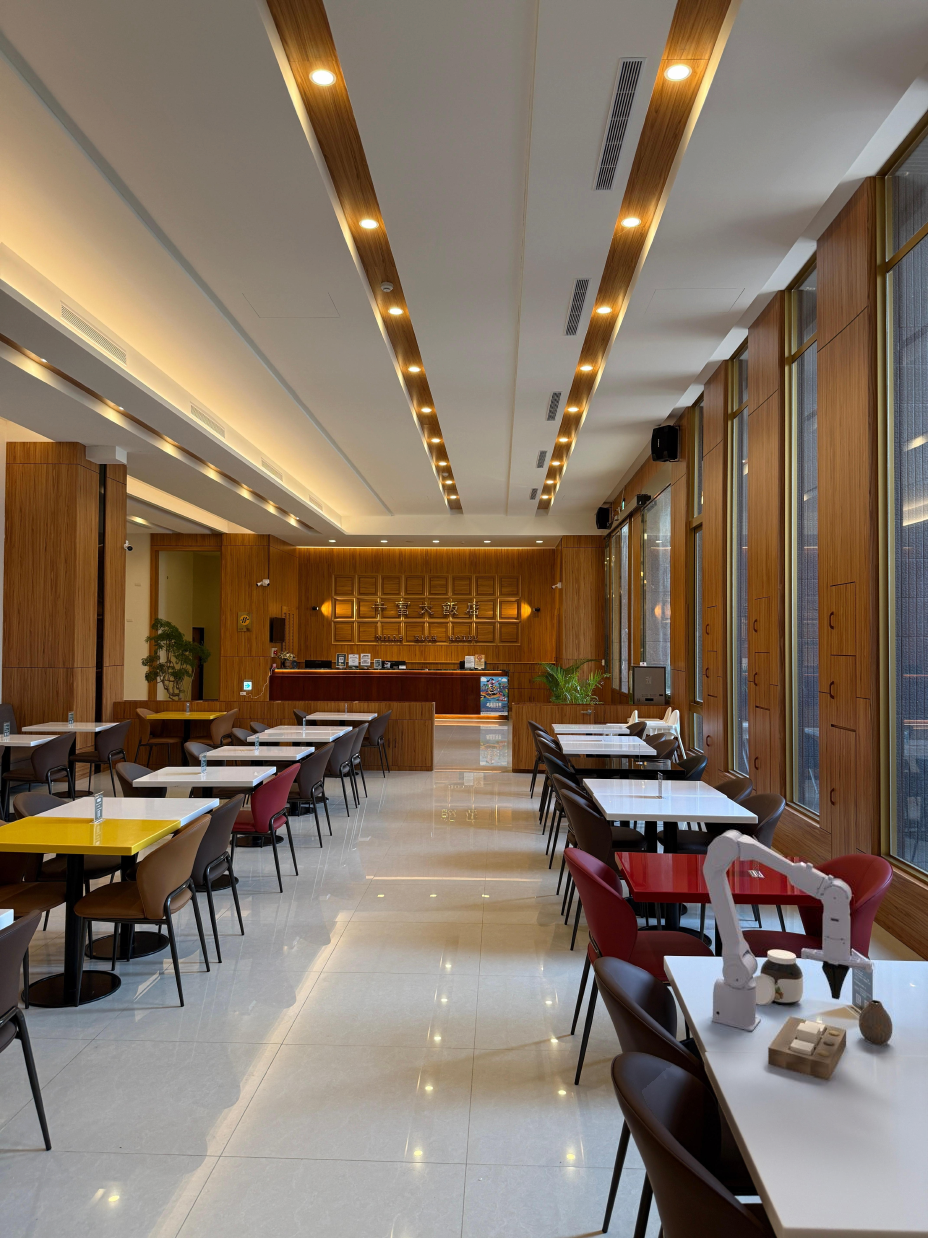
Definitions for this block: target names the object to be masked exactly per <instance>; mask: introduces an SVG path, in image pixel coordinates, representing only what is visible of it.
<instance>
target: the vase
mask: <svg viewBox="0 0 928 1238" xmlns="http://www.w3.org/2000/svg"><path fill="white" fill-rule="evenodd" d="M858 1027H859V1031H860V1034H861V1036H862V1037H863V1038H864V1039H865V1040H866V1041H867V1042H868V1043H871V1044H874V1045H877V1046H881V1045H885V1044H886V1043H888V1042H889V1041H890V1040H891V1037H892V1035H893V1022H892V1019H891V1016H890V1014H889V1013H888V1011H887V1010H886V1009H885V1008H884V1006H883V1004H882V1002H881V1001H880V1000H877V999H870V1000H869V1001H868V1004H867V1005H865V1007H864V1008H863V1009H862V1010H861V1011H860V1013H859V1016H858Z"/></svg>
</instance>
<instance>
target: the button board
mask: <svg viewBox="0 0 928 1238" xmlns="http://www.w3.org/2000/svg"><path fill="white" fill-rule="evenodd" d="M806 1021H809V1020H807V1019H803V1018H799V1017H795V1016H789V1017H788V1018H787V1020H786V1021H785V1023H784V1024H783V1026H782V1027H781V1029H780V1030H779V1032H778V1033H777V1035H776V1036H775V1037H774V1038H773V1040H772V1042H771V1043H770V1045H768V1047H767V1049H768V1051H767V1053H768V1054H767V1055H768V1056H767V1059H768V1060H767V1064H768V1065H770V1066H773V1067H776V1068H780V1069H784V1070H787V1071H789V1072H790V1071H791V1072H795V1073H798V1074H802V1075H804V1076H808V1077H812V1078H817V1079H818V1080H822V1081H823V1080H824V1081H827V1082H830V1080H831V1078H832V1076H833V1074H834V1072H835V1070H836V1068H837V1066H838V1063H839V1061H840V1060H841V1057H842V1055H843V1054H844V1052H845V1049H846V1047H847V1029H844V1028H840V1027H835V1026H832V1025H829V1024H824V1023H822V1024H823V1025H825V1034H824V1035H820V1042H819V1044H818V1045H814V1053H813V1055H812V1056H811V1055H807V1054H803V1053H799V1052H796V1051H792V1050H790V1046H791V1044H792V1042H793V1041H794V1039H796V1040H797V1028H798V1026H799V1025H800V1023H804V1024H805V1022H806ZM810 1021H811V1022H813V1021H812V1020H810ZM814 1022H815V1021H814ZM815 1023H817V1022H815ZM818 1023H819V1022H818ZM819 1024H821V1023H819Z"/></svg>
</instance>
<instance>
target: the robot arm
mask: <svg viewBox="0 0 928 1238" xmlns="http://www.w3.org/2000/svg"><path fill="white" fill-rule="evenodd" d="M737 858H739V861H752V860H754V861H756V862H759V863H761V864H762V865H765V866H767V867H769V868H771V869H773V870H775V871H777V872H779V873H780V874H782V875H785V876H786V877H787V878H788V880H789V883H790V884H791V886H794V887H795V888H797V889H799V890H801V891H803V893H806V894H808V895H809V896H811V897H813V898H815V899H817V900H820V901H821V903H822V904H823V913H822V949H812V948H805V947H802V949H801V951H800V952H801V953H800V956H801V957H800V958H801V960H811V961H816V962H821V963H822V966H821V969H822V973H824V976H825V977H826V980H827V983H828V985H829V989H830V993H831V999H834V1000H840V998H841V992H842V989H843V984H844V982H845V979H846V977H847V975H848V973H849V970H850V969H854V970H859V971H864V972H865V973H869V974H871V973H872V972H873V962H872V961H869V960H865V959H862V958H860V957H856V956H854V955H853V956H852V955H851V916H850V913H851V910H850V901H851V900H852V896H853V895H852V889H851V887H850V886H849V884H848V883H846V882H845V881H844V880H842V879H841V878H835V877H834V876H833V875H831V874H829V875H826V874H825V873H823V872H821V871H820V870H818V869H815V867H814V864H812V863H810V862H807V863H804V862H803V861H800V862H797V863H793V862H792V861H790V860H789V859H787V858H786V857H783V855H781V854H779V853H777V852H775V851H774V850H772V849H770V848H769V847H767V846H766V845H764V844H762V843H761V842H758V841H757V840H755V839H754V838H752V837H751V836H749V835H746V834H742V833H741V832H740V831H739V830H735V829H729V830H725V832H723V833H722V834H721V835H718V836H716V837H715V838H714V839H713V840H712V842H711V843H710V844H709V845H708V846H707V854H706V857H705V859H704V864H703V866H702V873H703V877H704V880H705V883H706V887H707V892H708V894H709V899H710V902H711V906H712V910H713V913H714V916H715V921H716V924H717V929H718V932H719V936H720V939H721V943H722V947H721V948H722V950H721V957H722V963H723V964H722V965H723V966H722V969H721V973H722V976H723V978H717V979H716V980H715V981H714V984H713V990H712V1018H711V1022H715V1023H719V1024H723V1025H726V1026H728V1027H729V1026H730V1027H734V1028H738V1029H741V1030H745V1031H750V1032H752V1031H754V1030H755V1028H756V1027H757V1026H758V1025H759V1024H760V1023H761V1020H762V1018H761V1017H758V1016H757V1014H756V1013H757V1011H756V1010H757V1009H756V1008H757V1003H756V982H755V980H754V975H755V974H756V973H757V971H758V968H759V967H758V966H759V964H758V959H757V958H756V957H755V955H754V954H753V953H752V951H751V949H750V945H749V943H748V942H747V941H746V940H745V938H744V935H743V931H742V927H741V923H740V920H739V916H738V913H737V909H736V905H735V902H734V898H733V895H732V890H731V887H730V884H729V879H728V877H727V876H728V875H727V871H728V869H730V867H731V866H732V864H733V862H734V861H735V860H736V859H737Z"/></svg>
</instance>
